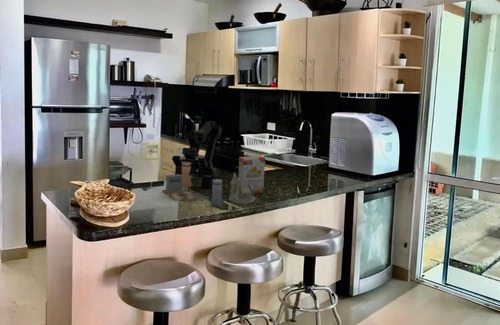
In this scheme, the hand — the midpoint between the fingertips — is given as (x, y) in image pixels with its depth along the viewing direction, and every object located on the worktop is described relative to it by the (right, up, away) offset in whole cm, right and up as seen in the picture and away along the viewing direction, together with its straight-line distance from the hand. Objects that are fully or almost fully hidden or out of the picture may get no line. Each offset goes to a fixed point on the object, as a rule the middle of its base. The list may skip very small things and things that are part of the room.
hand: (185, 174), depth 238 cm
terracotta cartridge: (0, -6, +2) cm, 7 cm away
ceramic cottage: (+31, -14, +5) cm, 34 cm away
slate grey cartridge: (+17, -15, -8) cm, 24 cm away
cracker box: (+35, -11, +22) cm, 43 cm away
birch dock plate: (-2, -12, +6) cm, 14 cm away
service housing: (-9, -10, +17) cm, 22 cm away
